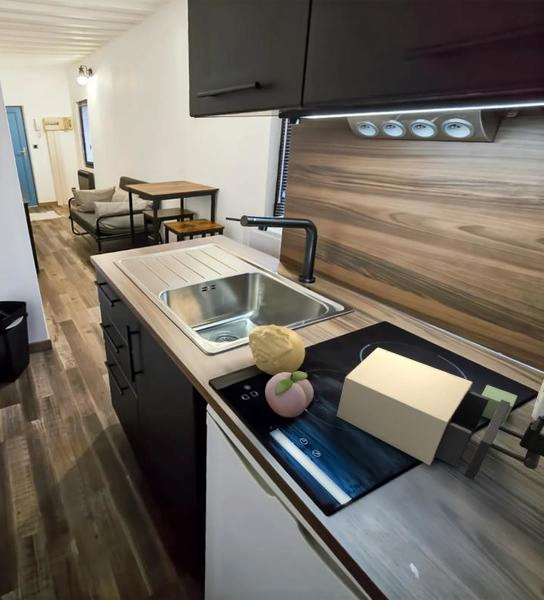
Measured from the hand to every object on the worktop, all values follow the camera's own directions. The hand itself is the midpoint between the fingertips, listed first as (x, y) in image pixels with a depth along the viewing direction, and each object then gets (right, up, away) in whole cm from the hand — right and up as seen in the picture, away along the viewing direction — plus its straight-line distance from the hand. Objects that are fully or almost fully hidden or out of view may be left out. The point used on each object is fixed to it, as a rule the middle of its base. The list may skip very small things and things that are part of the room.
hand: (533, 449), depth 55 cm
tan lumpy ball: (-28, +6, +32) cm, 43 cm away
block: (+8, +1, +15) cm, 17 cm away
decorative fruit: (-31, 0, +18) cm, 36 cm away
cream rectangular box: (-11, 0, +15) cm, 19 cm away
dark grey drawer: (-5, -2, +9) cm, 11 cm away
